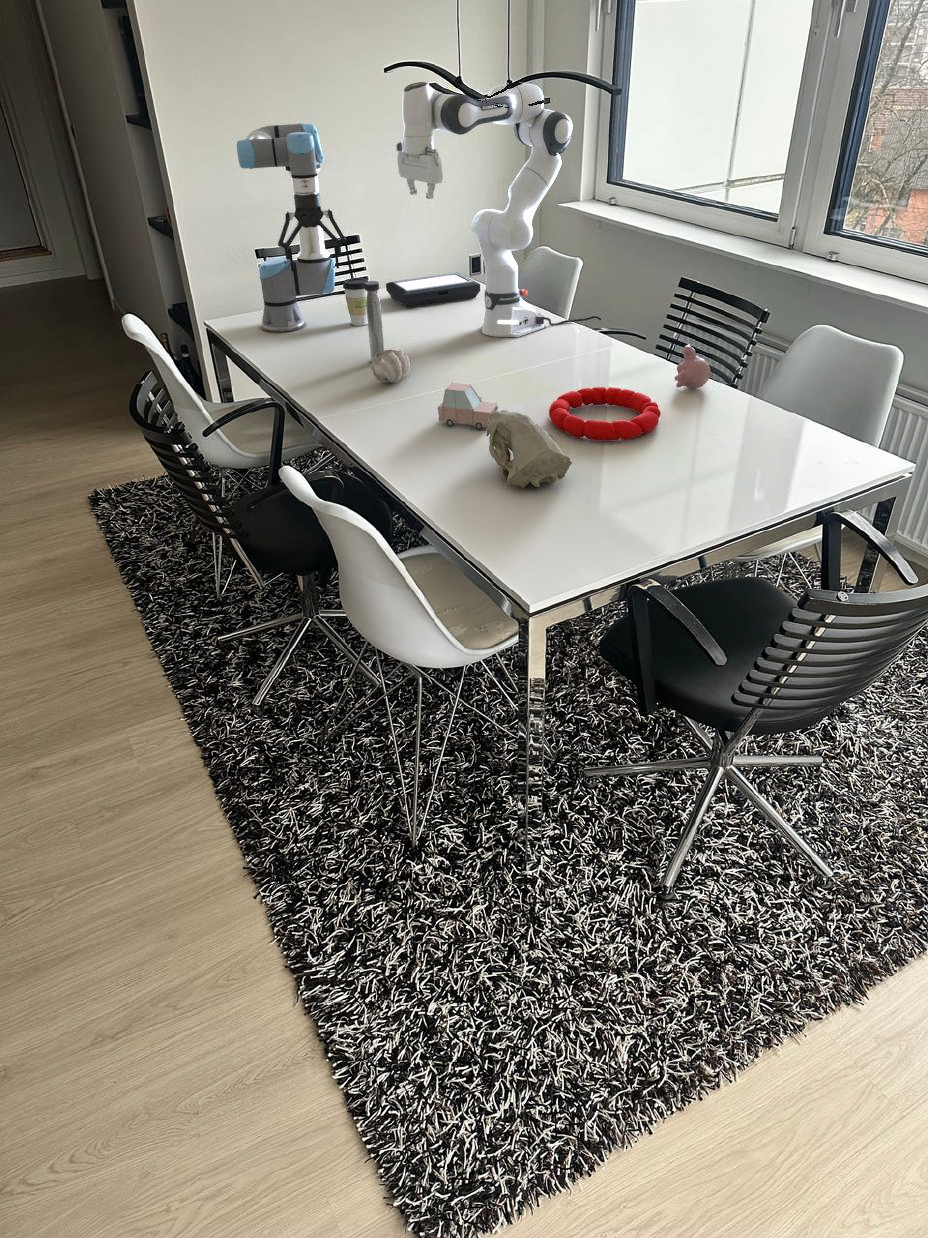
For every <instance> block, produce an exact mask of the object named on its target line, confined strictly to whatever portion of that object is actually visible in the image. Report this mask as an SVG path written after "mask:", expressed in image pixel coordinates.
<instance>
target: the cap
mask: <svg viewBox="0 0 928 1238" xmlns="http://www.w3.org/2000/svg"><path fill="white" fill-rule="evenodd" d="M364 286H365V290H366V291H377V292H378V291H379V290H380V283H379V281H376V280H368V282H365V283H364Z"/></svg>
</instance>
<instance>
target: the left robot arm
mask: <svg viewBox="0 0 928 1238" xmlns="http://www.w3.org/2000/svg"><path fill="white" fill-rule="evenodd" d="M236 153H237V154H236V155H237V160H238V164H239V167H240V168H241V169H248V170H253V169H265V168H283V167H285V172H286V173H287V174H289V175H290V177H291V186H292V193H293V194H292V195H293V202H294V209H295V211H294V212H289V211H285V213H284V215H285V217H284V218H285V219H284V223H283V225H282V229H281V232H280V235H279V238H278V242H277V246H278V247H279V248H282V249H284V253H285V254H284V255H285V256H277V257H273V258H270V259H267V260H264V261H263V262H261V263H260V265H259V266H258V270H259V280H260V285H261V286H260V287H261V292H262V299H263V313H262V319H261V326H262V330H264V331H265V332H271V333H286V332H293V331H296V330H297V331H298V330H300V329H302V328H304V326H305V319H304V317H303V314H302V312H301V310H300V307H299V306H298V305H299V304H298V303H297V297H300V296H301V297H302V296H303V297H304V296H314V295H315V296H316V295H321V296H322V295H327V294H332V293H333V292H334V290H335V286H336V285H335V284H336V269H340V262H339V257H342V246H341V245H342V244H344V243H346V242H347V239H346V237H345V235H344V233H343V231H342V229H341V228H340V226H339V224H338V223H337V221H336V219H335V218H334V215H333V210H332V209H331V208H328V209H325V210H323V209H322V205H321V195H320V193H319V191H320V187H319V186H320V185H319V177H318V173H319V172H320V170H321V164H323V163H324V162H325V159H324V155H323V150H322V145H321V141H320V137H319V133H318V129H317V127H316V125H315V124H313V123H290V124H275V125H274V124H273V125H264V126H262V127H259V128H257V129H254V130H252V131H251V132H250V133H249V134H247V136H246V137H245V139H240V140H239V139H238V140H237V141H236ZM324 216H325V217H326V218H327V219H329V221H330V223H331V225H332V226H333V228H334V230H335V232H336V233H337V235H338V236H339V238H338V237H337V236H336V234H334V232H333V231H331V230H330V228H328V226H327V225H326V224H325V223H324V222H323V221H322V219H323V217H324ZM293 218H295V220H296V225H295V227H294V228H293V230H292V231H291V233H290V234H289V236H288V238H287V239H286V241H285V238H286V234H287V232H288V230H289V226H290V221H293ZM324 233H325V234H326V235H327V236H328V237H329V238H330V239H331V240H332V241H333V242H334V243H333V249H334V258H332V257H331V253H330V252H329V251H328V250H327V249H326V247H325V238H324ZM297 235H298V241H299V250H300V251H298V253H297V254H296V260H294V258H293V253H292V247H291V245H292V243H293V241H294V240H295V238H296V237H297ZM284 241H285V242H284Z"/></svg>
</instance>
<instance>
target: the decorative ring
mask: <svg viewBox="0 0 928 1238" xmlns="http://www.w3.org/2000/svg"><path fill="white" fill-rule="evenodd" d="M583 405H584V406H586V407H587V406H591V405H593V406H604V405H608V406H614V407H619V408H624V409H628V410H632V411H635V412H636V413H638V414H639V415H637V416H635V417H632V418H631V419H630V420H625V419H624V420H623V419H622V420H614V421H611V422H609V421H607V420H606V421H605V420H593V419H587V420H586V421H585V419H584V418H582V417H579V416H577V415H573V414H571V413H570V410H571V409H579V408H581V407H582V406H583ZM548 416H549V419H550V422H551V423H552V425H553V426H554V427H555V428H556V429H558V430H559V431H561V432H563V433H567V434H568V435H569V436H573V437H576V438H580V439H582V438H583V437H585V438H586V439H587V440H591V441H601V442H602V441H603V442H608V441H609V442H610V441H611V442H612V441H615V442H616V441H618V440H630V439H634V438H638V437H641V436H642V434H647V433H650V432H651V431H653V430H654V429H655V428H656V427H657V426H658V424H659V422H660V421H659V420H660V417H661V410H660V408H659V405H658V403H657V402H656V401H652V399H651V397H649V396H648V395H646V394H644V393H642V392H635V391H634V390H632V389H628V388H624V389H622V388H620V387H613V386H612V387H611V386H610V387H608V388H606V387H604V386H594V387H585V388H584V387H583V388H580V389H578V390H571V391H568V392H565V393H563V394H561V395H560V396H558V397H557V398H556V400H554V401H552V403H551V404H550V407H549V409H548Z"/></svg>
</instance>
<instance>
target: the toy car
mask: <svg viewBox="0 0 928 1238" xmlns="http://www.w3.org/2000/svg"><path fill="white" fill-rule="evenodd" d="M498 409H499V404H498V403H497V402H490V401H489V402H487V401H483V397H481V396H480V395H479V394H478V393H477V391H476V390H475V389H474V386H472V384H469V383H459V382H451V383H450V384H449V385H448V386H447V387H446V388H445V389H444V394H443V399H442V403H440V404H439V405H438V406H437V413H438V421H439V422H443V423H446V425H447V426H448V427H452V426H454V425H455V424H461V425H469V426H473V427H475V429H476V430H479V431H480V430H481V429H483V428H485V427H486V428H487V423H488V422H490V414H491V413H492V412H496V411H499V410H498Z"/></svg>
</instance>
